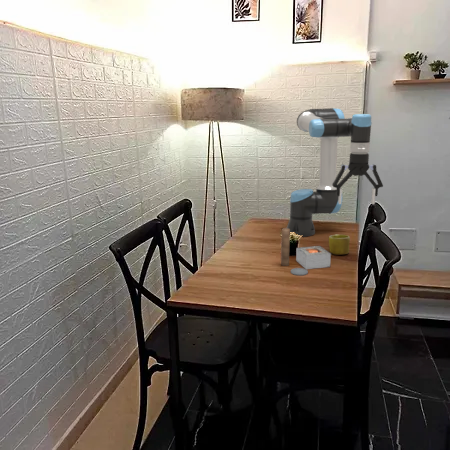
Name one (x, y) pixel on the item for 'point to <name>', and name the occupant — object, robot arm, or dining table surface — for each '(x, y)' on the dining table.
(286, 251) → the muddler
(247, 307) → the dining table surface
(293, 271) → the coaster
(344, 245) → the mug
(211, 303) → the dining table surface
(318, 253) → the grey square block
